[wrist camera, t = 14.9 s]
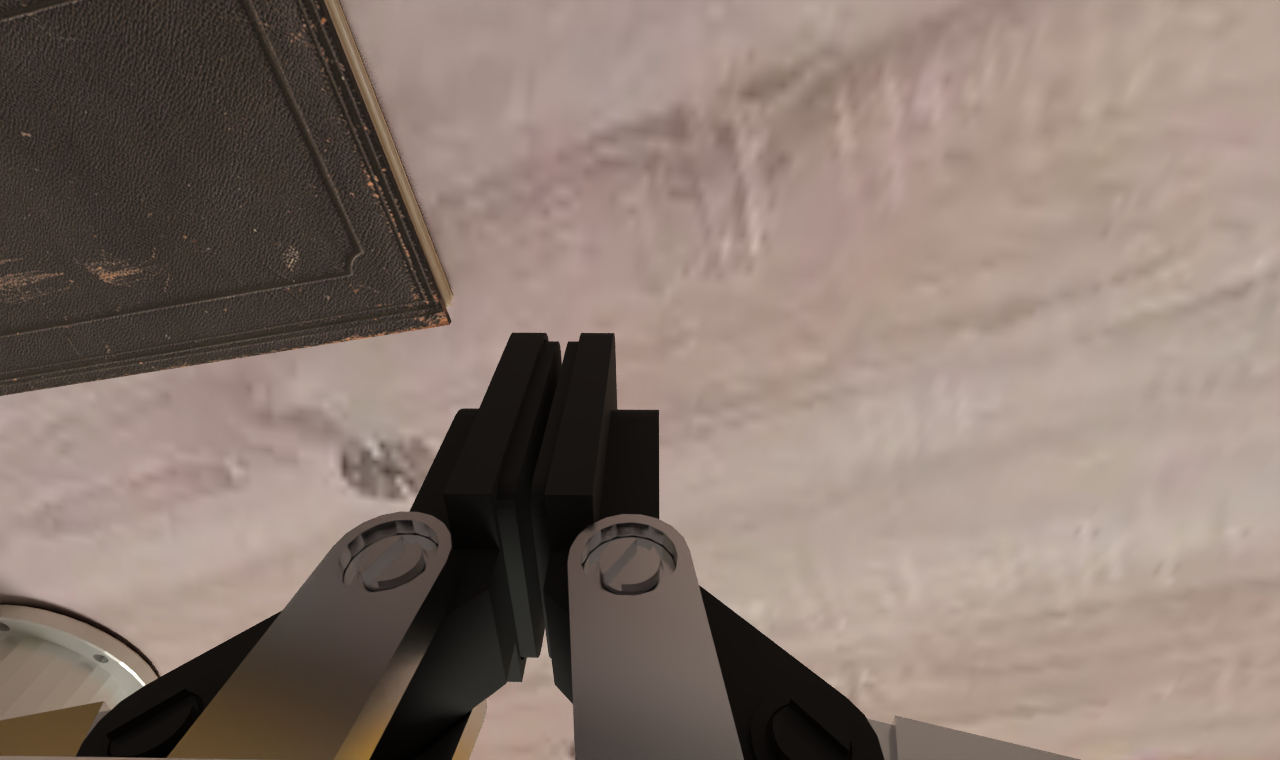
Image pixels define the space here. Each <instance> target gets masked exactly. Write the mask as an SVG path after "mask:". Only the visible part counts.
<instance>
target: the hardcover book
mask: <svg viewBox="0 0 1280 760" xmlns="http://www.w3.org/2000/svg"><path fill="white" fill-rule="evenodd" d="M451 299H453V294H452V292H451V289H450V287H449V284H448V282H447V279H446V276H445V274H444V271H443V269H442V266H441V264H440V261H439V258H438V256H437V253H436V251H435V248H434V245H433V243H432V240H431V238H430V235H429V233H428V230H427V227H426V225H425V222H424V220H423V217H422V215H421V212H420V209H419V207H418V204H417V202H416V199H415V197H414V194H413V191H412V189H411V186H410V184H409V181H408V179H407V176H406V173H405V171H404V168H403V166H402V163H401V160H400V158H399V155H398V153H397V150H396V148H395V145H394V142H393V140H392V137H391V135H390V132H389V130H388V127H387V124H386V122H385V119H384V117H383V114H382V111H381V109H380V106H379V104H378V101H377V99H376V96H375V93H374V91H373V88H372V86H371V83H370V80H369V78H368V75H367V73H366V70H365V67H364V65H363V62H362V60H361V57H360V55H359V52H358V49H357V47H356V44H355V42H354V39H353V36H352V34H351V31H350V29H349V26H348V23H347V21H346V18H345V16H344V13H343V10H342V8H341V5H340V3H339V0H0V396H2V395H9V394H15V393H21V392H28V391H34V390H40V389H47V388H53V387H59V386H66V385H72V384H78V383H84V382H91V381H97V380H103V379H110V378H116V377H122V376H129V375H135V374H141V373H148V372H154V371H160V370H167V369H173V368H179V367H185V366H192V365H198V364H204V363H211V362H217V361H223V360H230V359H236V358H242V357H249V356H255V355H261V354H268V353H274V352H280V351H287V350H293V349H299V348H305V347H312V346H318V345H324V344H331V343H337V342H343V341H350V340H356V339H362V338H369V337H375V336H381V335H388V334H394V333H400V332H407V331H413V330H419V329H425V328H432V327H438V326H444V325H449V324H450V323H451V319H450V317H449V314H448V312H447V309H446V306H450V305H452V303H451Z"/></svg>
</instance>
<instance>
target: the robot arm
mask: <svg viewBox="0 0 1280 760" xmlns="http://www.w3.org/2000/svg"><path fill="white" fill-rule="evenodd" d="M545 629H546V637H547V644H548V652H549V657H550V658H552V666H553V674H554V682H555V685H556V686H557V687H558V688H559V689H560V691H561V692H562V693H563V694H564V695H565V696H566V697H567V698H568V699H569V700H570V701H571V703H572V704H573V716H574V742H575V760H1080V759H1076V758H1072V757H1067V756H1063V755H1059V754H1055V753H1051V752H1046V751H1042V750H1038V749H1034V748H1029V747H1025V746H1021V745H1017V744H1013V743H1008V742H1004V741H1000V740H996V739H992V738H987V737H983V736H979V735H975V734H971V733H966V732H962V731H958V730H954V729H950V728H945V727H941V726H937V725H933V724H929V723H924V722H920V721H916V720H912V719H908V718H903V717H899V716H895V717H894V720H893V723H892V725H891V724H887V723H883V722H879V721H875V720H871V719H867V718H866V717H865V715H864V714H863V713H862V712H861V711H860V710H859V709H858V708H857V707H856V706H855V705H854V704H853V703H852V702H851V701H850V700H849V699H847V698H846V697H845V696H844V695H842V694H841V693H840V692H838V691H837V690H836V689H835V688H833V687H832V686H831V685H829V684H828V683H827V682H825V681H824V680H823V679H821V678H820V677H819V676H818V675H816V674H815V673H814V672H812V671H811V670H810V669H808V668H807V667H806V666H804V665H803V664H802V663H800V662H799V661H798V660H797V659H795V658H794V657H793V656H791V655H790V654H789V653H787V652H786V651H785V650H783V649H782V648H781V647H779V646H778V645H777V644H776V643H774V642H773V641H772V640H770V639H769V638H768V637H766V636H765V635H764V634H762V633H761V632H760V631H758V630H757V629H756V628H755V627H753V626H752V625H751V624H749V623H748V622H747V621H745V620H744V619H743V618H741V617H740V616H739V615H738V614H736V613H735V612H734V611H732V610H731V609H730V608H728V607H727V606H726V605H724V604H723V603H722V602H720V601H719V600H718V599H717V598H715V597H714V596H713V595H711V594H710V593H709V592H707V591H706V590H705V589H703V588H702V587H701V586H699V584H698V580H697V576H696V573H695V569H694V565H693V561H692V557H691V553H690V550H689V548H688V546H687V544H686V542H685V540H684V537H683V536H682V535H681V534H680V533H679V532H678V531H677V530H676V529H675V528H673V527H672V526H671V525H669V524H667V523H665V522H663V521H661V520H659V410H617V389H616V356H615V336H614V333H581V335H580V339H579V342H568V344H567V347H566V351H565V355H564V359H563V363H562V362H561V350H560V344H559V342H549V341H548V336H547V334H546V333H512V334H511V336H510V338H509V340H508V343H507V345H506V347H505V350H504V352H503V354H502V357H501V359H500V361H499V364H498V366H497V368H496V371H495V373H494V375H493V378H492V380H491V382H490V385H489V387H488V389H487V392H486V394H485V396H484V399H483V401H482V403H481V406H480V408H479V409H461V410H459V411H458V413H457V414H456V415H455V418H454V420H453V422H452V424H451V426H450V428H449V430H448V432H447V434H446V436H445V438H444V441H443V443H442V445H441V447H440V449H439V451H438V453H437V455H436V457H435V459H434V462H433V464H432V466H431V468H430V470H429V472H428V474H427V476H426V478H425V480H424V482H423V485H422V487H421V489H420V491H419V493H418V495H417V497H416V499H415V501H414V503H413V506H412V508H411V510H410V512H396V513H391V514H386V515H381V516H378V517H376V518H373V519H371V520H368V521H366V522H363V523H362V524H360V525H359V526H357V527H355V528H354V529H352V530H351V531H349V532H348V533H346V534H345V535H344V536H343V537H342V538H341V539H340V540H339V541H338V542H337V543H336V544H335V545H334V546H333V547H332V549H331V550H330V551H329V552H328V554H327V555H326V556H325V557H324V559H323V560H322V561H321V563H320V564H319V565H318V566H317V568H316V569H315V570H314V571H313V573H312V574H311V575H310V576H309V578H308V579H307V580H306V582H305V583H304V584H303V585H302V587H301V588H300V589H299V590H298V592H297V593H296V594H295V596H294V597H293V598H292V599H291V601H290V602H289V603H288V604H287V606H286V607H285V608H284V609H283V610H282V611H281V612H279V613H277V614H275V615H273V616H271V617H270V618H268V619H266V620H264V621H262V622H260V623H259V624H257V625H255V626H253V627H251V628H249V629H248V630H246V631H244V632H242V633H240V634H238V635H237V636H235V637H233V638H231V639H229V640H227V641H226V642H224V643H222V644H220V645H218V646H216V647H215V648H213V649H211V650H209V651H207V652H205V653H204V654H202V655H200V656H198V657H196V658H194V659H193V660H191V661H189V662H187V663H185V664H183V665H182V666H180V667H178V668H176V669H174V670H172V671H171V672H169V673H167V674H165V675H163V676H161V677H160V678H158V677H157V676H156V674H155V673H154V671H153V670H152V668H151V667H150V666H149V665H148V664H147V663H146V662H145V661H144V660H143V659H142V658H141V657H140V656H139V655H138V654H137V653H136V652H134V651H133V650H132V649H130V648H129V647H128V646H126V645H125V644H124V643H122V642H121V641H119V640H117V639H116V638H114V637H112V636H111V635H109V634H107V633H105V632H103V631H101V630H99V629H97V628H95V627H93V626H91V625H89V624H87V623H84V622H82V621H79V620H76V619H74V618H71V617H69V616H66V615H62V614H59V613H55V612H52V611H48V610H44V609H39V608H33V607H28V606H19V605H0V760H469V758H470V755H471V753H472V750H473V748H474V745H475V743H476V740H477V738H478V735H479V732H480V730H481V727H482V725H483V722H484V718H485V714H486V709H487V702H486V698H488V697H489V696H490V695H492V694H493V693H494V692H496V691H497V690H498V689H500V688H501V687H502V686H503V685H505V684H506V683H507V682H522V679H523V674H524V669H525V664H526V659H527V657H536V658H538V657H539V655H540V652H541V647H542V642H543V636H544V630H545Z"/></svg>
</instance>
